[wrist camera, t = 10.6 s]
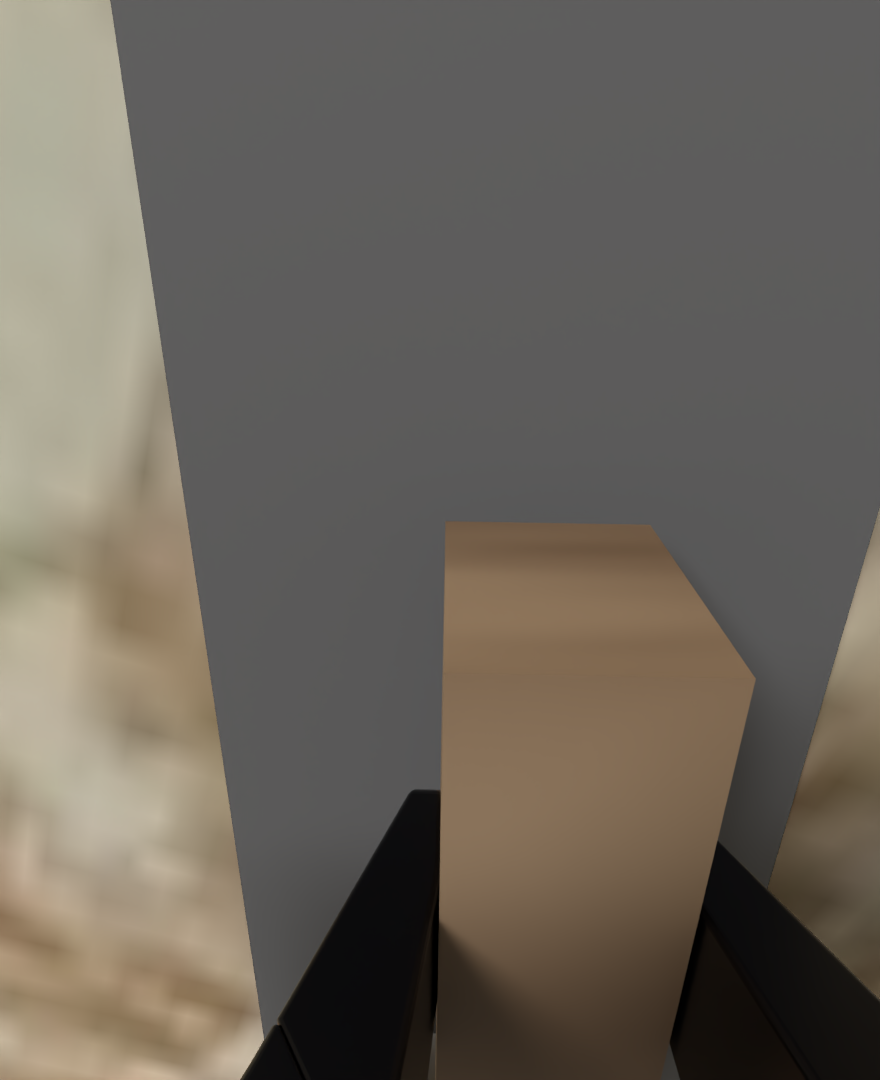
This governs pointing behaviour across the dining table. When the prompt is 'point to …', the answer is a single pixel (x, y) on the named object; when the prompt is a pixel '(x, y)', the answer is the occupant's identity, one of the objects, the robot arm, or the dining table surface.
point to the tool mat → (499, 362)
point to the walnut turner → (574, 797)
